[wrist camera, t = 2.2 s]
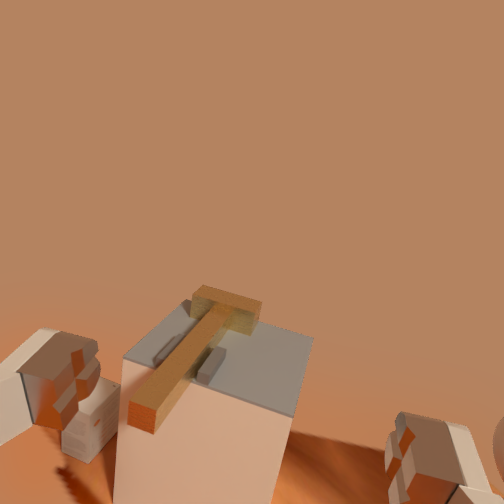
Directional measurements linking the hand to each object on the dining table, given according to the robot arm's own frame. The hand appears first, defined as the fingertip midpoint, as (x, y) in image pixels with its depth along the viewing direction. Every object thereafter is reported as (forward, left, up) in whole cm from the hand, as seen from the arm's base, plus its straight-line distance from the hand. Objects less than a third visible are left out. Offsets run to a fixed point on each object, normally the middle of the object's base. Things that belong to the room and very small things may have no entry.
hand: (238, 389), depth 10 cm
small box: (+30, -35, -50) cm, 69 cm away
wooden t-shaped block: (+12, -31, -24) cm, 41 cm away
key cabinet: (+9, -36, -50) cm, 62 cm away
